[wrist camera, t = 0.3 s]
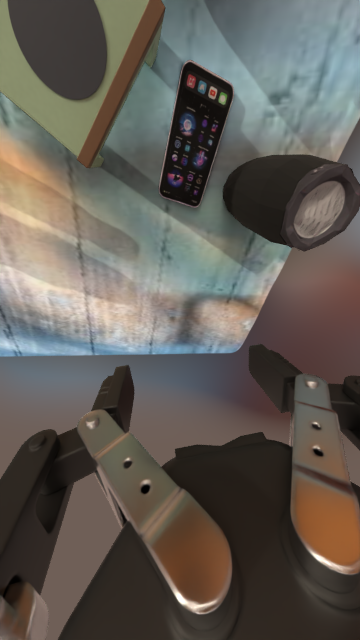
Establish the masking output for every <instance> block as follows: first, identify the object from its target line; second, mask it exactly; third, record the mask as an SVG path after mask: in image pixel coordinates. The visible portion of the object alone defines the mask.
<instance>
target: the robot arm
mask: <svg viewBox="0 0 360 640" xmlns="http://www.w3.org/2000/svg"><path fill="white" fill-rule="evenodd" d="M249 371H250V373H251V375H252V376H253V378H254V379H255V380H256V382H257V383H258V384H259V385H260V387H261V388H262V389H263V390H264V392H265V393H266V394H267V395H268V397H269V398H270V399H271V401H272V402H273V403H274V404H275V406H276V407H277V408H278V410H279V411H280V412H281V413H284V412H289V411H290V413H291V426H290V442H289V445H287V444H284V443H282V442H278V441H274V440H268V439H266V438H265V436H264V434H263V432H259V433H254V434H249V435H244V436H240V437H238V438H236V439H235V440H232V441H230V442H228V443H226V444H225V445H222V446H211V445H193V446H188V447H183V448H177V449H175V453H176V457H175V458H173V459H171V460H170V461H168V462H167V463H165V464H164V465H163V466H162V467H161V466H160V465H159V464H158V463H157V462H156V461H155V460H154V458H153V457H152V456H151V455H150V454H149V453H148V452H147V451H146V449H144V447H143V446H142V445H141V444H140V443H139V441H138V440H137V439H136V438H135V437H134V436H133V435H132V434H131V433H130V432H129V427H130V420H131V413H132V407H133V400H134V385H133V380H132V376H131V372H130V368H129V365H125V366H120V367H116V369H115V372H114V375H113V376H108V377H107V378H106V379H105V380H104V381H103V383H102V386H101V389H100V390H99V394H98V396H97V398H96V400H95V403H94V405H93V408H92V410H91V412H89V413H88V414H86V415H85V416H83V418H81V419H80V421H79V422H78V424H77V427H76V428H74V429H72V430H70V431H67V432H65V433H63V434H60V435H57V433H56V431H54V430H52V429H48V430H43V431H41V432H38V433H36V434H35V435H33V436H32V437H30V438H29V439H28V440H27V441H26V442H25V443H24V444H23V445H22V446H21V448H20V449H19V451H18V452H17V454H16V455H15V457H14V459H13V460H12V462H11V463H10V465H9V466H8V468H7V470H6V471H5V473H4V474H3V476H2V478H1V479H0V640H46V636H47V630H48V624H49V611H48V607H47V605H46V603H45V602H44V601H43V599H42V598H41V597H40V593H41V591H42V588H43V584H44V581H45V577H46V574H47V571H48V568H49V564H50V561H51V558H52V554H53V551H54V547H55V544H56V541H57V538H58V534H59V531H60V528H61V524H62V521H63V518H64V514H65V511H66V508H67V504H68V501H69V498H70V494H71V491H72V488H73V485H74V482H76V481H78V480H80V479H82V478H84V477H85V476H87V475H89V474H91V473H93V472H94V474H95V476H96V478H97V480H98V482H99V484H100V486H101V488H102V489H103V491H104V493H105V495H106V497H107V499H108V501H109V503H110V505H111V507H112V509H113V512H114V514H115V516H116V518H117V520H118V522H119V524H120V526H121V528H122V530H121V532H120V533H119V535H118V537H117V538H116V540H115V542H114V543H113V545H112V547H111V549H110V550H109V552H108V554H107V555H106V557H105V559H104V560H103V562H102V564H101V565H100V567H99V569H98V570H97V572H96V574H95V576H94V577H93V579H92V580H91V582H90V584H89V585H88V587H87V589H86V591H85V592H84V594H83V596H82V597H81V599H80V601H79V602H78V604H77V606H76V607H75V609H74V611H73V612H72V614H71V616H70V618H69V619H68V621H67V623H66V625H65V626H64V628H63V630H62V632H61V634H60V636H59V638H58V640H360V487H359V486H357V485H356V484H354V483H352V482H351V481H350V477H349V472H348V466H347V461H346V456H345V451H344V446H343V441H342V436H341V432H342V433H343V434H344V435H345V436H346V437H347V438H348V439H349V440H350V441H351V442H352V443H353V444H354V445H355V446H356V447H357V448H358V449H359V450H360V376H348V377H346V378H345V379H344V383H343V384H327V382H326V381H325V380H323V379H322V378H320V377H318V376H315V375H312V374H303V373H302V372H301V371H300V370H298V369H297V368H296V367H294V366H293V365H292V364H291V363H289V361H287V360H286V359H284V357H282V356H281V355H280V354H279V353H276V352H274V351H272V350H268V349H267V348H266V347H265V346H263V345H262V344H260V345H253V346H250V347H249Z"/></svg>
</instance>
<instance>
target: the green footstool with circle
mask: <svg viewBox="0 0 360 640" xmlns="http://www.w3.org/2000/svg"><path fill="white" fill-rule="evenodd" d="M164 12H165V6H164V5H163V3H162V1H161V0H0V91H1V92H2V93H3V94H4V95H5V96H6V97H8V98H9V99H10V100H11V101H12V102H13V103H15V104H16V105H17V106H18V107H19V108H20V109H22V110H23V111H24V112H25V113H26V114H27V115H29V116H30V117H31V118H32V119H33V120H35V121H36V122H37V123H38V124H39V125H40V126H42V127H43V128H44V129H45V130H46V131H47V132H49V133H50V134H51V135H52V136H53V137H54V138H56V139H57V140H58V141H59V142H60V143H62V144H63V145H64V146H65V147H66V148H67V149H69V150H70V151H71V152H72V153H73V154H74V155H76V156H77V157H78V158H77V160H78V161H79V162H80V163H82V164H83V165H84V166H85V167H86V168H94V167H100V166H101V165H102V163H103V161H104V158H102V157H101V156H100V155H99V153H100V151H101V149H102V147H103V145H104V143H105V141H106V139H107V137H108V135H109V133H110V131H111V129H112V127H113V125H114V123H115V121H116V119H117V117H118V115H119V113H120V111H121V109H122V107H123V105H124V103H125V101H126V98H127V96H128V94H129V92H130V90H131V88H132V86H133V84H134V82H135V80H136V78H137V76H138V74H139V72H140V70H141V68H142V66H143V64H144V62H146V63H147V64H148V66H149V67H150V68H151V67H152V65H153V63H154V61H155V59H156V55H157V50H158V45H159V40H160V34H161V29H162V23H163V17H164Z"/></svg>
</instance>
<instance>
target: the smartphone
mask: <svg viewBox="0 0 360 640" xmlns="http://www.w3.org/2000/svg"><path fill="white" fill-rule="evenodd" d="M233 97H234V88H233V85H232V84H231V83H230V82H229V81H227V80H225V79H224V78H222V77H220V76H218V75H217V74H215V73H213V72H211V71H210V70H208V69H206V68H204V67H203V66H201V65H199V64H197V63H196V62H194V61H192V60H188V61H187V62H185V64H184V65H183V67H182V70H181V74H180V79H179V84H178V90H177V95H176V100H175V105H174V110H173V116H172V121H171V126H170V131H169V136H168V142H167V147H166V152H165V157H164V162H163V167H162V173H161V178H160V183H159V193H160V195H161V196H162V197H163V198H166V199H169V200H172V201H175V202H179V203H182V204H184V205H187V206H190V207H198V206H199V205H200V203H201V201H202V197H203V194H204V191H205V188H206V184H207V181H208V178H209V175H210V172H211V168H212V165H213V162H214V159H215V155H216V152H217V149H218V146H219V143H220V139H221V136H222V133H223V130H224V126H225V123H226V120H227V117H228V114H229V110H230V107H231V104H232V101H233Z"/></svg>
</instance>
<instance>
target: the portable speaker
mask: <svg viewBox="0 0 360 640" xmlns="http://www.w3.org/2000/svg"><path fill="white" fill-rule="evenodd" d="M223 199H224V201H225V204H226V207H227V209H228V211H229V212H230V213H231V214H232V215H233V216H234V217H235V219H237V220H238V221H239V222H240V223H241V224H242V225H243V226H245V227H247V228H248V229H250V230H252V231H253V232H255V233H257V234H259V235H260V236H262V237H264V238H265V239H267V240H269V241H270V242H274V243H278V244H283V245H287V246H289V247H291V248H292V247H295V248H298V249H300V250H302V251H307V250H310V249H312V248H315V247H317V246H319V245H322V244H324V243H326V242H327V241H329V240H330V239H332V238H333V237H335V236H336V235H338V234H339V233H341V232H343V231H344V230H345V229H346V228H347V226H348V225H349V224H350V222H351V221H352V219H353V218H354V216H355V215H356V214H357V212H358V211H359V207H360V184H359V182H358V181H357V179H356V178H355V176H354V174H353V171H352V169H351V168H349V167H348V165H346V164H345V165H344V164H340V163H337V162H333V161H330V160H326V159H323V158H319V157H315V156H312V155H271V156H266V157H261V158H257V159H254V160H252V161H249V162H246V163H244V164H243V165H241V166H239V167H238V168H237V169H236V170H234V171H233V172H232V173H231V174H230V175H229V177H228V179H227V181H226V183H225V185H224V189H223Z"/></svg>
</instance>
